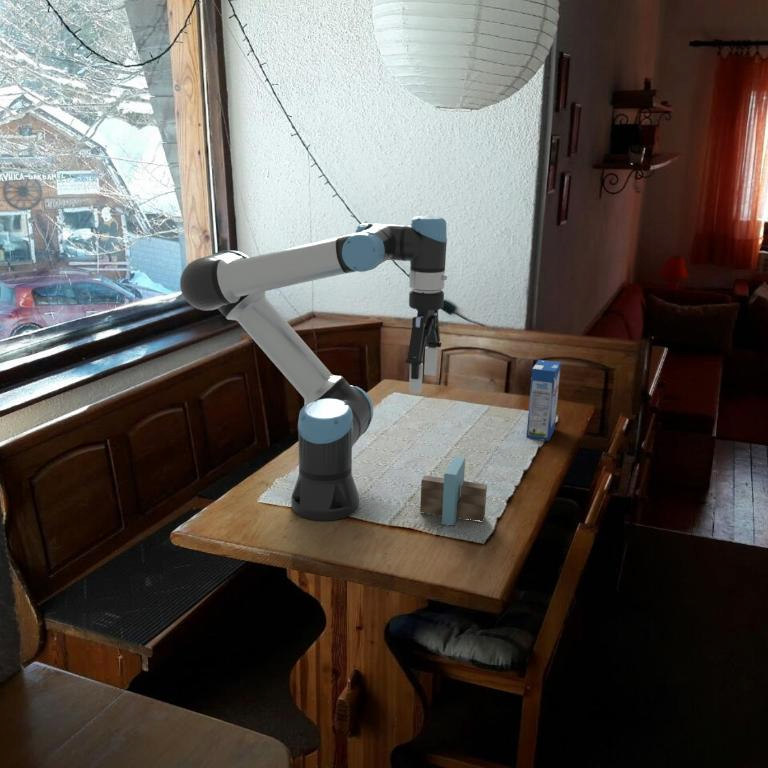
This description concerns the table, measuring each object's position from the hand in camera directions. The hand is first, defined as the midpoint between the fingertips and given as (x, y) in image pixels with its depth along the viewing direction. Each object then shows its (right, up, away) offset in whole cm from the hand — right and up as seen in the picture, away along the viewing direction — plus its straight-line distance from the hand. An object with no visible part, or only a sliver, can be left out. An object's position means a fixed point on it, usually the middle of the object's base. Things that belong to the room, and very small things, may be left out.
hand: (423, 383), depth 180 cm
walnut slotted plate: (+6, -29, -3) cm, 30 cm away
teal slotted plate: (+6, -29, -3) cm, 30 cm away
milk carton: (+36, -14, +47) cm, 60 cm away
